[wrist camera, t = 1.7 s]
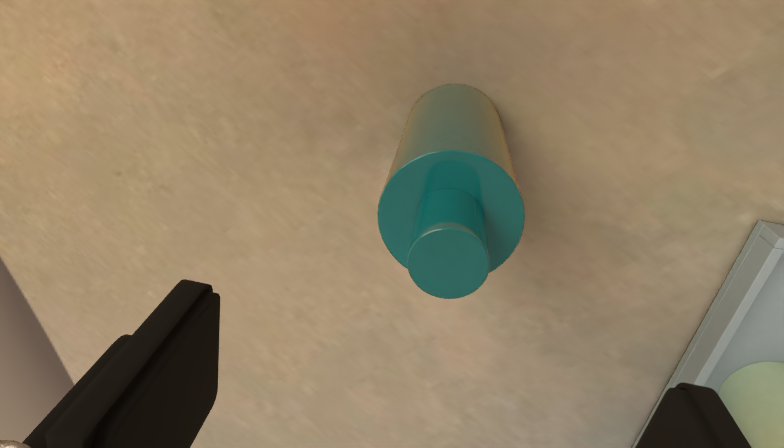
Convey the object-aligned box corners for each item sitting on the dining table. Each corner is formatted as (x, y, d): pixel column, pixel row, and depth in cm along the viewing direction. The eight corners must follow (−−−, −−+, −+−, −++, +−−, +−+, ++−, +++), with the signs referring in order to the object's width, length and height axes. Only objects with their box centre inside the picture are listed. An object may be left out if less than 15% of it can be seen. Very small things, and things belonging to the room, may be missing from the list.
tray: (758, 219, 28) (779, 237, 26) (950, 258, 27) (986, 279, 26) (613, 479, 37) (622, 506, 35) (755, 510, 37) (771, 539, 35)
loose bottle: (416, 74, 26) (377, 167, 14) (512, 94, 26) (560, 205, 14) (398, 165, 29) (352, 315, 16) (487, 183, 29) (509, 349, 16)
